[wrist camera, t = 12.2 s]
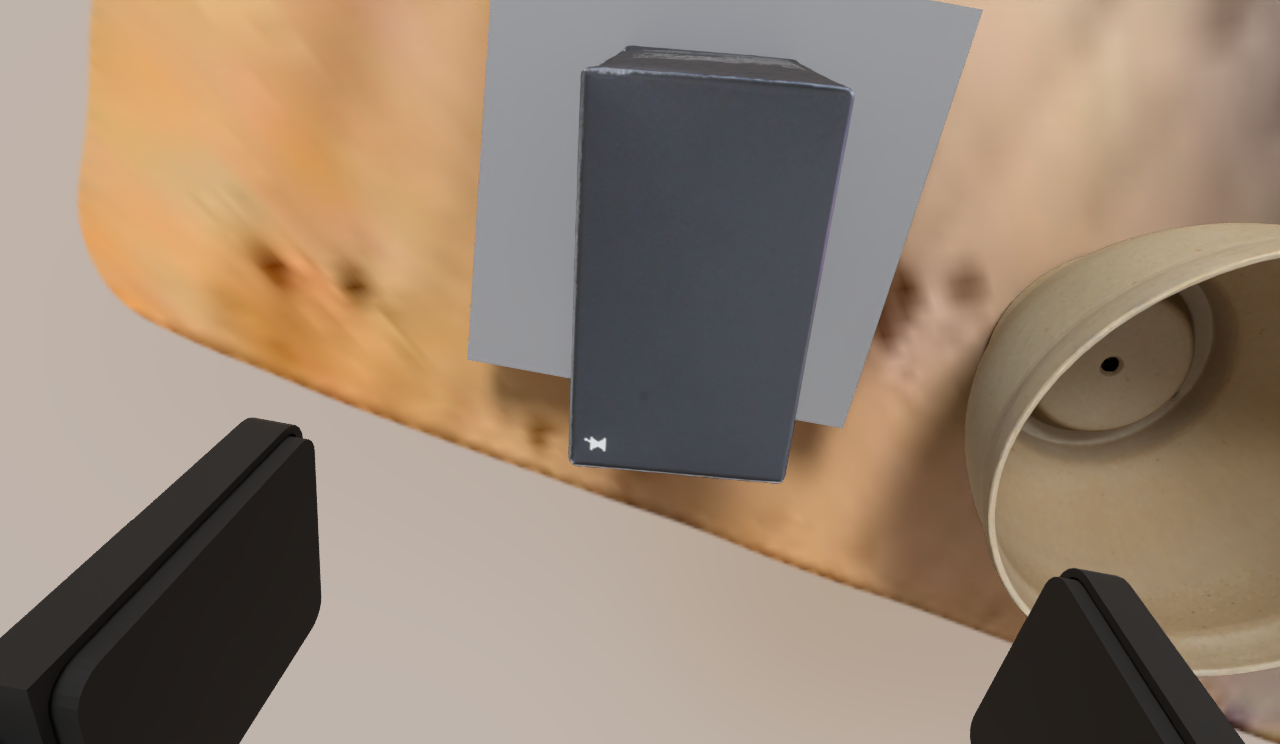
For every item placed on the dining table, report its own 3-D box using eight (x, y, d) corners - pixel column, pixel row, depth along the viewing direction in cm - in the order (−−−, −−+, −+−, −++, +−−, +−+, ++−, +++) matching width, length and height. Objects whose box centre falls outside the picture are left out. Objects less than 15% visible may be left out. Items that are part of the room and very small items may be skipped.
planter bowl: (1131, 543, 37) (1280, 733, 28) (844, 425, 36) (894, 583, 26) (1395, 262, 30) (1719, 383, 21) (1052, 98, 29) (1228, 146, 19)
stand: (947, 9, 28) (982, 10, 24) (828, 384, 35) (842, 428, 31) (523, -69, 28) (495, -80, 24) (492, 323, 35) (467, 359, 31)
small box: (766, 342, 30) (793, 497, 20) (604, 327, 30) (558, 473, 21) (810, 56, 25) (872, 87, 16) (618, 41, 25) (566, 63, 16)
